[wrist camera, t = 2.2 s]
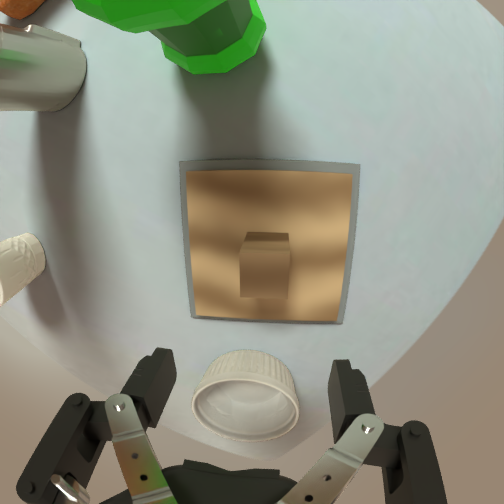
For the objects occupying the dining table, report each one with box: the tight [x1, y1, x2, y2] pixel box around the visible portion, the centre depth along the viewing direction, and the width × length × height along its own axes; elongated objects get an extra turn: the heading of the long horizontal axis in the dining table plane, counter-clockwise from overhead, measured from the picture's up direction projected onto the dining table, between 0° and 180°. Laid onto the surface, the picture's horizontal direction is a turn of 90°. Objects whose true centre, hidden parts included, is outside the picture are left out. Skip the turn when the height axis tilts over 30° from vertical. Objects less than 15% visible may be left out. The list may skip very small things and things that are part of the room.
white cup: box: [0, 233, 46, 307], centre depth 30 cm, size 8×8×10 cm
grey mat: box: [179, 159, 360, 323], centre depth 30 cm, size 18×18×1 cm
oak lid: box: [186, 170, 353, 321], centre depth 27 cm, size 16×16×7 cm
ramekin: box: [191, 350, 299, 442], centre depth 34 cm, size 13×13×7 cm
